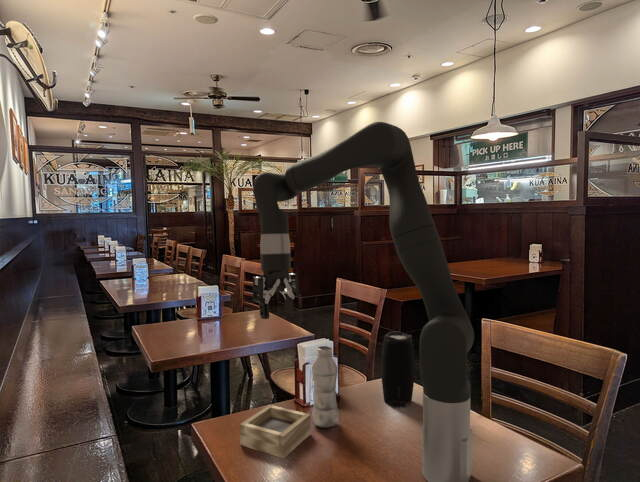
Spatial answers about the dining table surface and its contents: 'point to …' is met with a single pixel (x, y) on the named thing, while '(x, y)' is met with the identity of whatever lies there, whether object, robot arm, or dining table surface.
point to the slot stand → (275, 430)
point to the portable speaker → (397, 368)
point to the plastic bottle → (324, 388)
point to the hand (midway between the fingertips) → (277, 316)
